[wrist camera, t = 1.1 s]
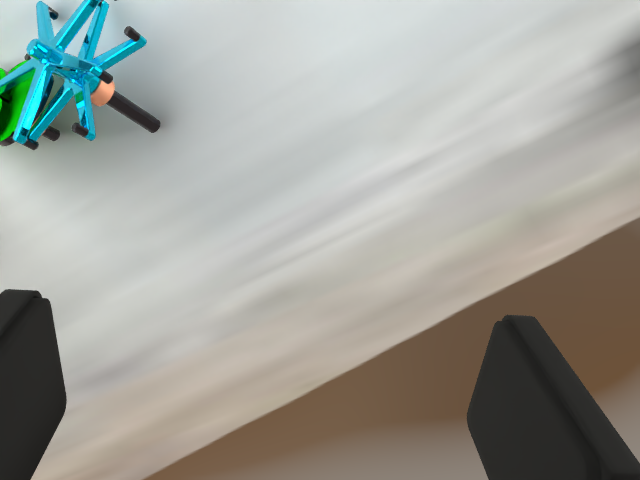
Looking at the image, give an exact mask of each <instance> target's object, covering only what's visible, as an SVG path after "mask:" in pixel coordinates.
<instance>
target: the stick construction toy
mask: <svg viewBox="0 0 640 480" xmlns="http://www.w3.org/2000/svg"><path fill="white" fill-rule="evenodd" d="M115 1H117V0H115ZM96 7H97V8H96ZM95 8H96V10H95V13H94V15H93V18H92V21H91V23H90V26H89V29H88V31H87V34H86V36H85V39H84V42H83V44H82V47H81V49H80V52H79V55H78V57H75V56H72V55H70V54H67V53H64V51H65V49H66V48H67V46H68V45H69V44H70V42H71V41H72V39H73V38H74V37H75V35H76V34H77V33H78V31H79V30H80V29H81V27H82V26H83V24H84V23H85V22H86V20H87V19H88V18H89V16H90V15H91V13H92V12H93V11H94V9H95ZM108 8H109V4H108V3H107V2H106V1H104V0H84V1H83V2H82V3H81V5H80V6H79V7H78V8H77V10H76V11H75V12H74V13H73V15H72V16H71V17H70V18H69V20H68V21H67V22H66V23H65V25H64V26H63V27H62V28H61V30H60V31H59V32H58V33H57V35H56V36H55V37H54V32H53V28H52V23H51V19H50V18H52V19H53V20H56V19H57V18H58V13H57V12H56V11H54V10H53V9H52V8H50V7H49V6H48V5H46V4H45V3H43V2H42V1H39V2H38V3H37V5H36V9H37V24H38V38H39V39H33V40H32V41H31V42H30V43H29V44H28V46H27V54H26V55H25V60H26V61H24V62H22V63H20V64H18V65H16V66H15V67H14V68H13V69H11V70H10V71H9V72H7V71H5V70H3V69H1V68H0V146H7V145H10V144H12V143H14V142H15V141H16V142H18V143H20V144H22V145H24V146H26V147H28V148H30V149H33V150H35V149H37V148H38V145H39V144H38V142H37V139H38V138H39V137H40V136H41V135H42V136H44V137H46V138H48V139H50V140H52V141H56V140H57V139H58V138H59V136H60V131H58V130H57V129H55V128H53V127H51V126H49V125H50V124H51V122H52V121H53V120H54V119H55V118H56V116H57V115H58V114H59V113H60V111H61V110H62V109H63V108H64V107H65V105H66V104H67V103H68V102H69V100H70V99H71V98H72V97H73V96H74V98H75V102H76V107H77V111H78V115H79V120H80V124H81V125H80V124H78V123H74V124H73V125H72V131H73V132H75V133H77V134H79V135H81V136H82V137H84V138H86V139H88V140H90V141H92V140H94V139H95V137H96V133H95V125H94V118H93V111H92V103H93V104H95V105H97V106H102V105H104V104H107V105H109V106H110V107H112V108H113V109H115V110H116V111H118V112H120V113H121V114H123V115H124V116H126V117H127V118H129V119H131V120H132V121H134V122H135V123H137V124H138V125H140V126H142V127H143V128H145V129H146V130H148V131H149V132H151V133H154V132H156V131H157V130H158V129H159V127H160V121H159V120H158V119H156V118H155V117H153V116H152V115H150V114H149V113H147V112H146V111H145V110H143V109H142V108H140V107H139V106H137V105H136V104H134V103H133V102H131V101H130V100H128V99H127V98H125V97H124V96H122V95H121V94H119V93H118V92H116V91H115V90H114V89H115V85H114V82H113V76H111V75H110V74H109V73H107V72H106V71H105V70H106V69H108V68H110V67H111V66H113V65H114V64H116V63H118V62H119V61H121V60H122V59H124V58H126V57H127V56H129V55H131V54H132V53H134V52H135V51H137V50H139V49H140V48H142V47H143V46H145V45H146V43H147V40H146V39H145V38H144V37H143V36H141V35H140V34H139V33H138V32H136V31H135V30H134V29H133V28H132V27H130V26H128V27H126V28H125V30H124V33H125V35H127V36H128V37H129V38H130V40H128V41H126V42H124V43H122V44H120V45H118V46H117V47H115V48H113V49H111V50H109V51H107V52H105V53H103V54H102V55H100V56H98V57H96V58H94V59H93V57H94V53H95V50H96V47H97V44H98V41H99V37H100V34H101V31H102V28H103V24H104V21H105V18H106V15H107V11H108ZM52 75H54V76H57V77H59V78H61V79H64V80H65V81H64V84H63V85H62V87H61V88H60V89H59V91H58V92H57V93H56V95H55V96H54V97H53V99H52V100H51V102H50V103H49V104H48V106H47V107H46V108H45V110H44V111H43V112H42V114H41V115H40V113H41V111H42V110H43V108H44V106H45V104H46V102H47V100H48V97H49V95H50V92H51V89H52V86H53V83H54V80H53V76H52ZM91 102H92V103H91ZM39 115H40V117H39Z"/></svg>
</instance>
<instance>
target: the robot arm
mask: <svg viewBox="0 0 640 480" xmlns="http://www.w3.org/2000/svg"><path fill="white" fill-rule="evenodd" d="M66 401H67V399H66V392H65V386H64V380H63V374H62V368H61V362H60V356H59V350H58V345H57V339H56V333H55V327H54V321H53V315H52V309H51V304H50V301H49V300H48V299H47V298H42V296H41V294H40V293H39V292H38V291H32V290H13V289H8V290H5V291H3V292H2V293H1V294H0V480H30V479H31V478H32V476H33V474H34V472H35V470H36V468H37V466H38V464H39V462H40V460H41V458H42V456H43V454H44V452H45V450H46V448H47V446H48V445H49V443H50V441H51V439H52V437H53V435H54V433H55V431H56V429H57V427H58V425H59V423H60V421H61V419H62V417H63V415H64V412H65V409H66ZM467 423H468V427H469V431H470V433H471V436H472V438H473V440H474V443H475V446H476V448H477V451H478V453H479V456H480V458H481V461H482V463H483V466H484V469H485V471H486V474H487V476H488V479H489V480H640V463H639V462H638V460H637V459H636V458H635V456H634V455H633V454H632V452H631V451H630V449H629V448H628V446H627V445H626V444H625V442H624V441H623V439H622V438H621V437H620V435H619V434H618V432H617V431H616V430H615V428H614V427H613V426H612V424H611V423H610V421H609V420H608V418H607V417H606V416H605V414H604V413H603V411H602V410H601V409H600V407H599V406H598V405H597V403H596V402H595V400H594V399H593V398H592V396H591V395H590V393H589V392H588V391H587V389H586V388H585V386H584V385H583V384H582V382H581V381H580V379H579V378H578V376H577V375H576V374H575V372H574V371H573V370H572V368H571V367H570V365H569V364H568V363H567V361H566V360H565V358H564V357H563V356H562V354H561V353H560V352H559V350H558V349H557V347H556V346H555V344H554V343H553V342H552V340H551V339H550V337H549V336H548V335H547V333H546V332H545V330H544V329H543V328H542V326H541V325H540V323H539V322H538V321H537V319H536V318H535V317H532V316H518V315H506V316H505V317H504V318H503V319H502V321H497V322H496V323H495V325H494V327H493V330H492V333H491V337H490V340H489V343H488V346H487V350H486V353H485V356H484V359H483V363H482V366H481V369H480V373H479V376H478V379H477V382H476V385H475V389H474V392H473V395H472V398H471V402H470V405H469V408H468V412H467Z"/></svg>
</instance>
